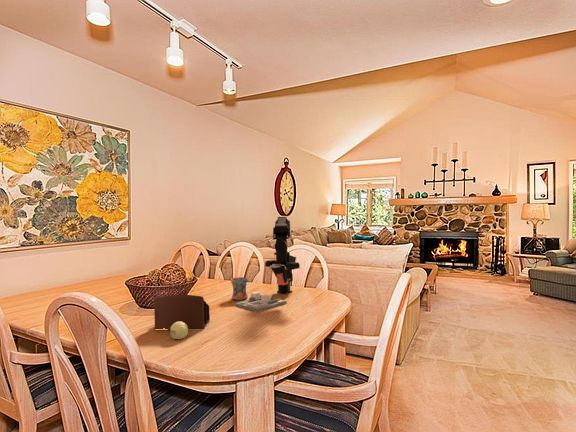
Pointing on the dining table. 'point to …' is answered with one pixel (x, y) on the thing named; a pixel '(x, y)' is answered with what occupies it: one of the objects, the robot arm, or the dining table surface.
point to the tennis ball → (178, 330)
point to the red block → (281, 279)
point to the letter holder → (181, 311)
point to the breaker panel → (260, 304)
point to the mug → (239, 288)
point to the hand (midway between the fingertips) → (282, 281)
